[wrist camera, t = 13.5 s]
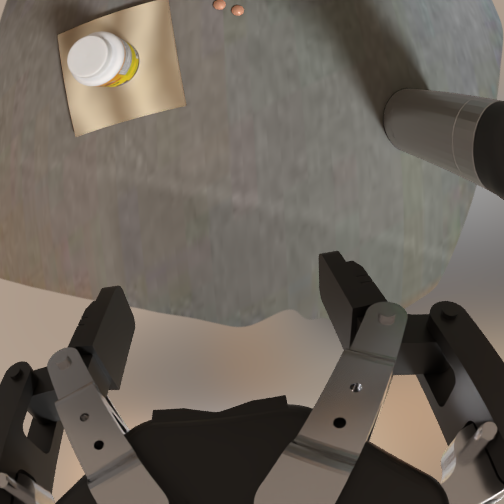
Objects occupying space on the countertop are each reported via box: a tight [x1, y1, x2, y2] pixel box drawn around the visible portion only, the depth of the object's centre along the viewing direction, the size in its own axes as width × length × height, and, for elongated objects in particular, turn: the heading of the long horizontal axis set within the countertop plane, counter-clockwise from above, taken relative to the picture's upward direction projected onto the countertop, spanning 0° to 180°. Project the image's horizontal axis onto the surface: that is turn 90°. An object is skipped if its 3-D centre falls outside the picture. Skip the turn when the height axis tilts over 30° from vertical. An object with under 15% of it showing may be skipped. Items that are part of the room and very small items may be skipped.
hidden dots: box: [213, 0, 244, 16], centre depth 28 cm, size 3×4×1 cm
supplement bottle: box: [67, 31, 140, 87], centre depth 25 cm, size 6×6×10 cm
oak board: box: [58, 0, 186, 137], centre depth 30 cm, size 14×14×1 cm
